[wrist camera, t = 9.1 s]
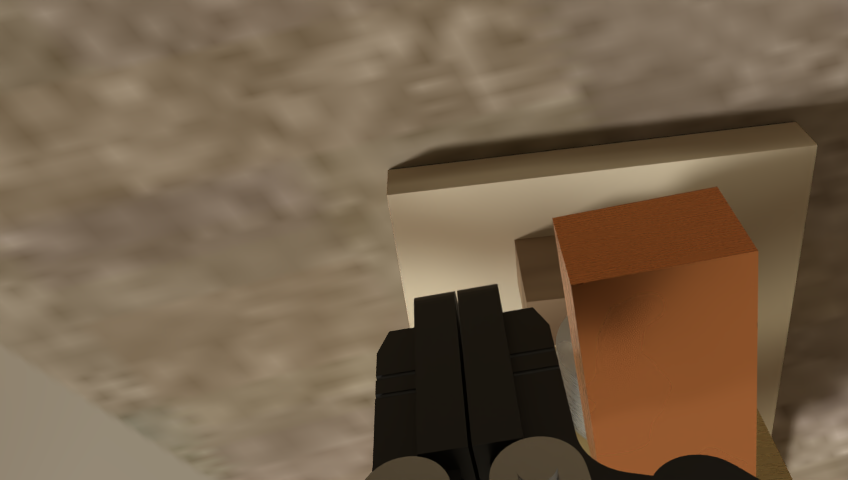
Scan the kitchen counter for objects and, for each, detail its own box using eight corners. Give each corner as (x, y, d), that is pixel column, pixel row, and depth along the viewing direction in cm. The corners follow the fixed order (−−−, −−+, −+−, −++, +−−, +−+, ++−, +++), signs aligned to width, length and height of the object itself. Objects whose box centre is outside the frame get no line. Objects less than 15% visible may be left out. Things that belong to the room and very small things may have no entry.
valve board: (388, 169, 24) (383, 255, 20) (796, 121, 23) (869, 200, 20) (446, 513, 33) (451, 616, 29) (745, 485, 32) (789, 587, 28)
